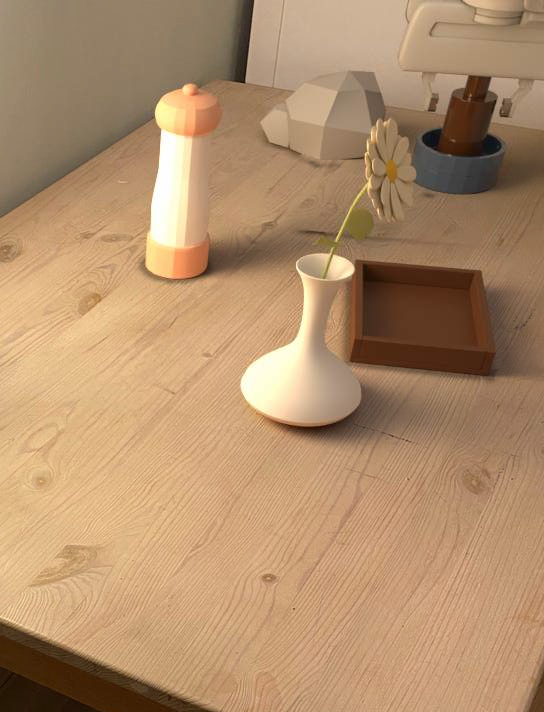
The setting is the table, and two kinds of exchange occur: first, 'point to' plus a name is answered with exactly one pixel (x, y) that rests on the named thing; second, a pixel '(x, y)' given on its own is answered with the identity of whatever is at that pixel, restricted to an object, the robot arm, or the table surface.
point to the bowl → (456, 165)
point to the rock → (328, 116)
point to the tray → (420, 317)
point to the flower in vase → (330, 303)
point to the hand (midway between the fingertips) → (466, 113)
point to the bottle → (468, 118)
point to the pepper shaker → (182, 184)
